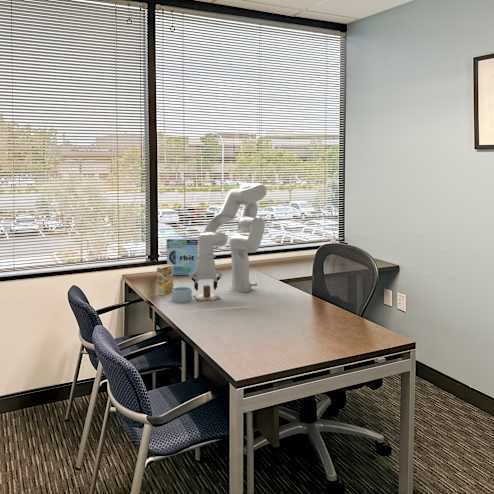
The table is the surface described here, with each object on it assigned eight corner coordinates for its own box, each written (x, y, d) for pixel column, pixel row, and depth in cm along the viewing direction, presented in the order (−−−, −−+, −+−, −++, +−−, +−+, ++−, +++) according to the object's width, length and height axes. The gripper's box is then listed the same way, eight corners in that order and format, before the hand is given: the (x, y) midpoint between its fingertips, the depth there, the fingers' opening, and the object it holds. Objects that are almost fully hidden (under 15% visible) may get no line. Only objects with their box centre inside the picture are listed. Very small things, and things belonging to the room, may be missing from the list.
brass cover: (215, 294, 286) (215, 282, 285) (220, 299, 275) (220, 287, 274) (193, 296, 283) (193, 284, 282) (198, 301, 271) (197, 289, 270)
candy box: (163, 296, 285) (162, 268, 283) (157, 295, 288) (156, 267, 285) (173, 292, 293) (172, 265, 291) (167, 291, 295) (166, 264, 293)
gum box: (167, 275, 338) (166, 239, 335) (169, 273, 343) (168, 238, 340) (197, 275, 337) (196, 239, 333) (198, 273, 342) (198, 238, 338)
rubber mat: (216, 295, 287) (216, 293, 287) (222, 300, 274) (222, 299, 274) (192, 296, 283) (192, 295, 283) (197, 303, 271) (197, 301, 271)
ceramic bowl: (189, 297, 282) (189, 286, 281) (193, 302, 273) (193, 290, 272) (170, 298, 279) (170, 287, 278) (174, 303, 270) (173, 292, 269)
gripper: (220, 255, 281) (220, 287, 283) (187, 256, 276) (188, 289, 278) (223, 257, 274) (223, 290, 276) (190, 258, 269) (190, 292, 271)
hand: (205, 289), depth 277 cm, fingers open, 9 cm apart
